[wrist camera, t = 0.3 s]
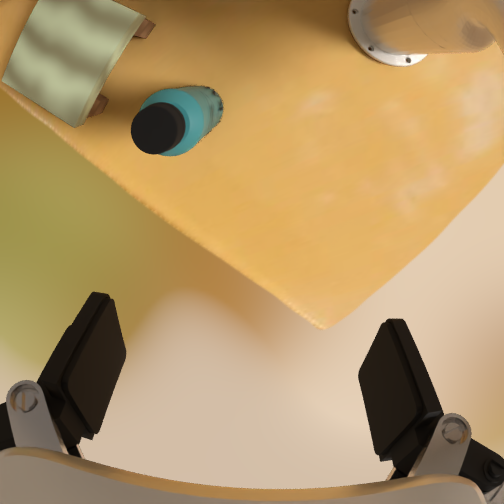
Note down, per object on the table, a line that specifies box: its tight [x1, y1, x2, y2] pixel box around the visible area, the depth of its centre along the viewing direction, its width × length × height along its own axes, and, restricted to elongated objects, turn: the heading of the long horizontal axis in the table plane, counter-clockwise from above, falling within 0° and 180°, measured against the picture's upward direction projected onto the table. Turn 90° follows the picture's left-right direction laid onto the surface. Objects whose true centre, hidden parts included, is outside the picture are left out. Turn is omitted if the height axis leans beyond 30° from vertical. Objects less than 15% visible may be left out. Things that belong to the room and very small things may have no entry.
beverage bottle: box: [131, 85, 224, 156], centre depth 30 cm, size 6×7×20 cm
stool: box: [2, 0, 156, 128], centre depth 30 cm, size 16×16×8 cm
